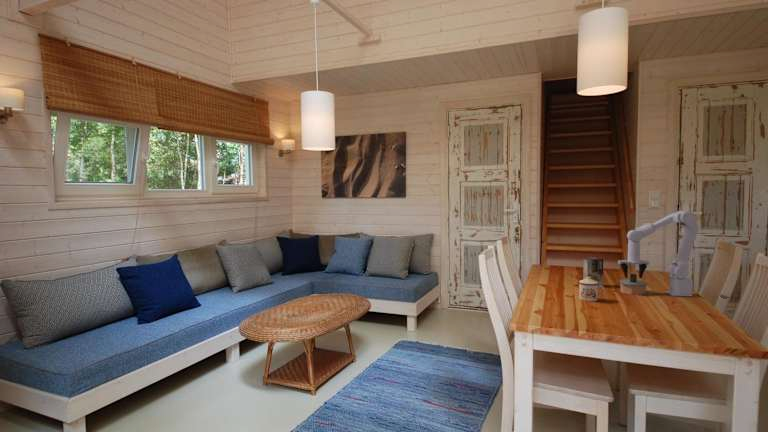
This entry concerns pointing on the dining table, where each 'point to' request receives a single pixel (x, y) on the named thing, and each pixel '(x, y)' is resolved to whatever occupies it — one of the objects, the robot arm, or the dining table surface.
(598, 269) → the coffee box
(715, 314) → the dining table surface
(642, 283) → the lid
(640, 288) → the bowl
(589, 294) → the teacup with lid
